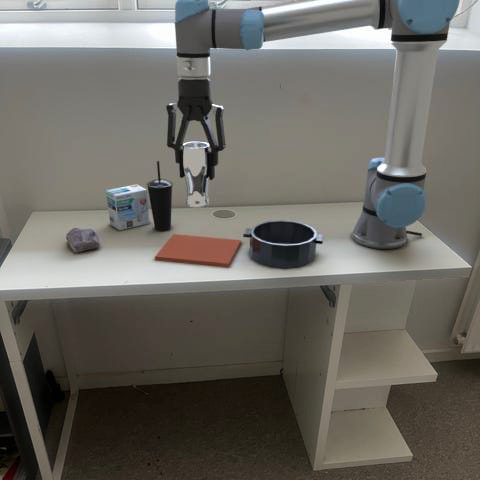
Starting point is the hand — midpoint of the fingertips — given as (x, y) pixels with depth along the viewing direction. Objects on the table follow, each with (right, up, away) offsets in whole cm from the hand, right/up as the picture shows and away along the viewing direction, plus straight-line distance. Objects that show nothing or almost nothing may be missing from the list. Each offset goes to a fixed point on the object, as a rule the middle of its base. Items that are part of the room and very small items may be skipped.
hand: (197, 177), depth 128 cm
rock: (-33, -16, +13) cm, 39 cm away
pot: (+22, -18, +9) cm, 30 cm away
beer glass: (0, -6, +4) cm, 7 cm away
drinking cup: (-13, -9, +25) cm, 29 cm away
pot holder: (0, -17, +11) cm, 20 cm away
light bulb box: (-23, -7, +28) cm, 37 cm away
